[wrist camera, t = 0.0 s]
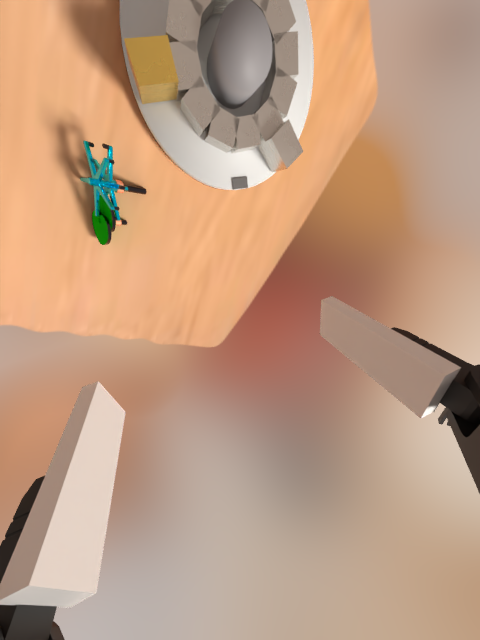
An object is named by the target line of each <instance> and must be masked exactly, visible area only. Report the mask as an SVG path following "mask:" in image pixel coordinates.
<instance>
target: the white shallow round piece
mask: <svg viewBox="0 0 480 640" xmlns="http://www.w3.org/2000/svg"><path fill="white" fill-rule="evenodd" d="M289 2H290V5H291V7H292V10H293V13H294V16H295V19H296V23H295V24H294V25H293V27H292V28H291V29H290V31H289V32H294V31H298V72H299V74H298V75H297V76H296V77H295V78H294V80H295V81H296V82H297V86H296V89H295V92H294V95H293V98H292V101H291V105H290V108H289V111H288V114H287V116H286V117H285V118H284V119H283V121H284V122H285V121H287V120H288V119H289V120H290V123H291V125H292V127H293V130H294V132H295V134H296V136H297V139H298V140H299V137H300V135H301V132H302V130H303V127H304V124H305V121H306V117H307V114H308V110H309V105H310V100H311V93H312V85H313V70H314V55H313V39H312V29H311V23H310V18H309V12H308V7H307V3H306V0H289ZM168 7H169V0H120V29H121V39H122V47H123V52H124V58H125V63H126V68H127V72H128V76H129V79H130V83H131V86H132V90H133V93H134V96H135V98H136V101H137V104H138V106H139V109H140V111H141V114H142V116H143V118H144V120H145V122H146V124H147V126H148V128H149V129H150V131H151V133H152V134H153V136H154V138H155V139H156V141H157V143H158V144H159V145H160V147H161V148H162V149H163V151H164V152H165V153H166V154H167V156H168V157H169V158H170V159H171V160H172V161H173V162H174V163H175V164H176V165H177V166H178V167H179V168H180V169H181V170H183V171H184V172H185V173H186V174H188V175H189V176H191V177H192V178H193V179H195V180H197V181H199V182H201V183H203V184H205V185H207V186H210V187H213V188H217V189H222V190H239V189H245V188H249V187H252V186H255V185H257V184H259V183H261V182H263V181H265V180H266V179H268V178H269V177H271V176H272V175H273V174H274V173H275V172H272V171H271V170H270V168H269V166H268V164H267V162H266V161H265V159H264V157H263V155H262V154H261V152H260V150H259V148H258V147H256V148H254V149H252V150H247V151H242V152H237V153H232V154H231V150H230V151H229V152H227V153H226V152H224V151H222V150H220V149H218V148H216V147H214V146H212V145H210V144H209V143H207V142H205V141H204V138H205V133H206V130H205V131H204V132H203V133H202V134H201V136H200V137H199V136H198V134H197V133H196V131H195V130H194V129H193V127H192V126H191V124H190V123H189V121H188V120H187V119H186V117H185V116H184V114H183V113H182V111H181V110H180V105H181V101H176V100H169V101H162V102H154V103H147V104H142V102H141V99H140V96H139V92H138V89H137V86H136V83H135V80H134V77H133V74H132V71H131V68H130V64H129V59H128V55H127V50H126V46H125V41H124V38H136V37H149V36H161V35H166V24H167V16H168ZM197 51H198V56H199V61H200V66H201V72H202V77H203V81H204V83H205V85H206V86H207V88H208V90H209V91H210V93H211V95H212V96H213V98H214V100H215V101H216V103H217V105H218V106H219V107H221V108H223V109H224V110H226V111H228V112H229V113H231V114H232V115H234V116H236V117H241V116H247V115H253V114H254V113H255V112H256V110H257V109H258V108H259V106H260V102H261V98H262V95H263V91H264V87H265V79H266V77H267V75H268V73H269V70H270V66H271V62H272V38H271V33H270V29H269V26H268V23H267V20H266V18H265V16H264V14H263V13H262V11H261V10H260V9H259V7H258V6H257V5H256V4H254V3H253V2H252V1H250V0H233V1H232V2H230V3H229V4H228V5H227V6H226V8H225V9H224V11H223V13H222V14H212V16H211V17H210V18H209V20H208V21H207V22H206V23H205V25H204V26H203V27H202V28H201V30H200V31H199V36H198V42H197ZM284 122H283V123H284Z"/></svg>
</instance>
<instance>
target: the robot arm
mask: <svg viewBox="0 0 480 640" xmlns="http://www.w3.org/2000/svg"><path fill="white" fill-rule="evenodd" d="M320 335H321V336H322V337H323V338H325V339H326V340H327V341H328V342H329V343H331V344H332V345H333V346H334V347H335V348H337V349H338V350H339V351H340V352H341V353H343V354H344V355H345V356H346V357H348V358H349V359H350V360H351V361H352V362H353V363H355V364H356V365H357V366H358V367H359V368H361V369H362V370H363V371H364V372H366V373H367V374H368V375H369V376H370V377H372V378H373V379H374V380H375V381H376V382H378V383H379V384H380V385H381V386H382V387H384V388H385V389H386V390H387V391H388V392H390V393H391V394H392V395H393V396H394V397H396V398H397V399H398V400H399V401H400V402H402V403H403V404H404V405H405V406H406V407H408V408H409V409H410V410H411V411H412V412H414V413H415V414H416V415H417V416H418V417H420V418H423V417H425V416H426V415H428V414H430V413H432V412H434V411H435V409H436V408H437V406H438V404H439V403H441V404H443V405H444V406H445V407H446V408H445V410H444V411H443V412H442V414H441V415H440V417H439V418H438V421H439V424H443V422H444V421H445V419H446V418H447V419H448V423H447V425H448V426H451V428H452V430H453V433H454V435H455V437H456V440H457V442H458V444H459V447H460V449H461V451H462V453H463V456H464V458H465V461H466V463H467V465H468V467H469V469H470V472H471V474H472V477H473V479H474V481H475V484H476V486H477V488H478V491H479V493H480V365H476V366H474V365H471V364H469V363H467V362H465V361H463V360H461V359H459V358H457V357H456V356H453V355H452V354H450V353H448V352H446V351H444V350H442V349H440V348H438V347H436V346H434V345H433V344H429V343H428V342H427V341H425V340H423V339H419V337H417V336H415V335H413V334H412V333H410V332H408V331H405V330H401V329H398V328H391V329H390V328H389V327H387V326H385V325H383V324H381V323H379V322H378V321H376V320H374V319H372V318H370V317H368V316H367V315H365V314H363V313H361V312H359V311H357V310H356V309H354V308H352V307H350V306H349V305H347V304H345V303H343V302H341V301H340V300H338V299H336V298H334V297H332V296H331V297H329V298H326V299H324V300H322V301H321V322H320ZM124 418H125V411H124V410H123V409H122V408H121V406H120V405H119V404H118V403H117V402H116V401H115V400H114V399H113V397H112V396H111V395H110V394H109V393H108V392H107V390H106V389H105V388H104V387H103V386H102V385H101V384H100V383H99V381H98V382H95V383H92V384H90V385H87V386H84V387H82V389H81V391H80V393H79V396H78V398H77V401H76V403H75V405H74V408H73V410H72V413H71V415H70V418H69V420H68V422H67V425H66V427H65V430H64V432H63V434H62V437H61V439H60V442H59V444H58V446H57V449H56V451H55V454H54V456H53V458H52V461H51V463H50V466H49V468H48V470H47V473H46V475H45V476H43V477H40V478H38V479H36V480H35V482H34V483H33V484H32V486H31V487H30V488H29V490H28V492H27V493H26V494H25V495H24V497H23V498H22V500H21V502H20V505H19V507H18V509H17V511H16V513H15V515H14V518H13V522H12V523H11V524H10V526H9V528H8V530H7V533H6V535H5V537H6V538H5V540H3V541H2V543H1V546H0V640H64V637H63V635H62V633H61V630H60V628H59V626H58V625H57V624H56V623H55V622H54V621H53V619H54V615H55V611H56V607H64V608H70V607H72V606H74V605H76V604H77V603H79V602H81V601H83V600H85V599H87V598H89V597H91V596H92V595H94V594H96V591H97V585H98V579H99V573H100V567H101V561H102V554H103V548H104V542H105V536H106V530H107V523H108V517H109V511H110V504H111V498H112V492H113V485H114V480H115V474H116V468H117V461H118V455H119V449H120V442H121V437H122V430H123V424H124Z"/></svg>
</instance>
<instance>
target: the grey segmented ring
mask: <svg viewBox="0 0 480 640" xmlns="http://www.w3.org/2000/svg"><path fill="white" fill-rule="evenodd" d="M232 1H233V0H169V7H168V16H167V24H166V35H161V36H149V37H136V38H124V41H125V46H126V50H127V55H128V59H129V64H130V68H131V71H132V74H133V77H134V80H135V83H136V86H137V89H138V92H139V96H140V99H141V102H142V104H147V103H154V102H162V101H169V100H176V101H181V105H180V110H181V111H182V113H183V114H184V116H185V117H186V119H187V120H188V121H189V123H190V124H191V126H192V127H193V129H194V130H195V131H196V133H197V134H198V136H199V137H200V136H201V134H202V133H203V132H204V131H205V130H206V133H205V138H204V141H205V142H207V143H209V144H210V145H212V146H214V147H216V148H218V149H220V150H222V151H224V152H226V153H227V152H229V151H230V150H231V154H232V153H237V152H242V151H247V150H252V149H254V148H256V147H258V148H259V150H260V152H261V154H262V155H263V157H264V159H265V161H266V162H267V164H268V166H269V168H270V170H271V171H272V172H276V171H280V170H284V169H287V168H288V167H289V166H290V165H291V164H292V163H293V162H294V161H295V160H296V158H297V157H298V156H299V155H300V154H301V153H302V152H303V150H302V148H301V145H300V143H299V141H298V139H297V136H296V134H295V132H294V130H293V127H292V125H291V123H290V120H289V119H288V120H287V121H285V122H284V121H283V119H284V118H285V117H286V116H287V114H288V111H289V108H290V105H291V101H292V98H293V95H294V92H295V89H296V86H297V82H296V81H295V80H294V78H295V77H296V76H297V75H298V74H299V72H298V31H294V32H289V31H290V29H291V28H292V27H293V25H294V24H295V23H296V19H295V16H294V13H293V10H292V7H291V5H290V2H289V0H250V1H252V2H253V3H254V4H256V5H257V6H258V7H259V9H260V10H261V11H262V13H263V14H264V16H265V18H266V20H267V23H268V26H269V29H270V33H271V38H272V62H271V66H270V70H269V73H268V75H267V77H266V79H265V87H264V91H263V95H262V98H261V102H260V106H259V108H258V109H257V110H256V112H255V113H254V114H253V115H247V116H241V117H236V116H234V115H232V114H231V113H229V112H228V111H226V110H224V109H223V108H221V107H219V106H218V105H217V103H216V101H215V100H214V98H213V96H212V95H211V93H210V91H209V90H208V88H207V86H206V85H205V83H204V81H203V77H202V72H201V66H200V61H199V56H198V51H197V42H198V36H199V31H200V30H201V28H202V27H203V26H204V25H205V23H206V22H207V21H208V20H209V18H210V17H211V16H212V14H222V13H223V11H224V9H225V8H226V6H227V5H228V4H229V3H230V2H232ZM283 122H284V123H283Z"/></svg>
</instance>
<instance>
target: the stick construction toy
mask: <svg viewBox="0 0 480 640" xmlns="http://www.w3.org/2000/svg"><path fill="white" fill-rule="evenodd" d="M83 142H84V147H85V151H86V154H87V158H88V162H89V166H90V170H91V174H92V178H90V177H88V178H80V180H81V181H83V182H86V183H88V184H89V185H92V186H93V187H94V204H95V210H94V211H93V213H92V222H93V227H94V231H95V234H96V236H97V238H98V240H99V242H100V243H101V244H102V245H107V244H109V243H110V241H111V232H113V231H114V230H115V225H117V226H121V225H126V224H127V221H126V220H120V216H119V212H118V210H119V207H117V203H116V198H115V194H114V191H115V192H117V193H123V192H124V191H128V192H134V193H139V194H146V189H145V188H141V187H136V186H131V185H126V184H123V182H122V181H120V180H115V179H114V180H113V164H114V160H113V148H112V146H109V145H106V144H102V146H103V148H105V149H108V155H107V158H104V159H103V161H102V163H101V165H99V163H98V162H97V160H96V159H93V158H92V154H91V151H90V147H94V144H93V143H91V142H88V141H83ZM89 146H90V147H89ZM94 164H95V165H94ZM95 166H96V168H97V170H98V171H97V172H96V168H95ZM106 168H107V175H106V173H105V170H106ZM102 178H103V180H102ZM103 187H104V189H103ZM100 194H101V195H100ZM108 194H109V195H110V198H111V201H110V199H109V198H108ZM111 202H112V203H111ZM114 213H115V214H114Z"/></svg>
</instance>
